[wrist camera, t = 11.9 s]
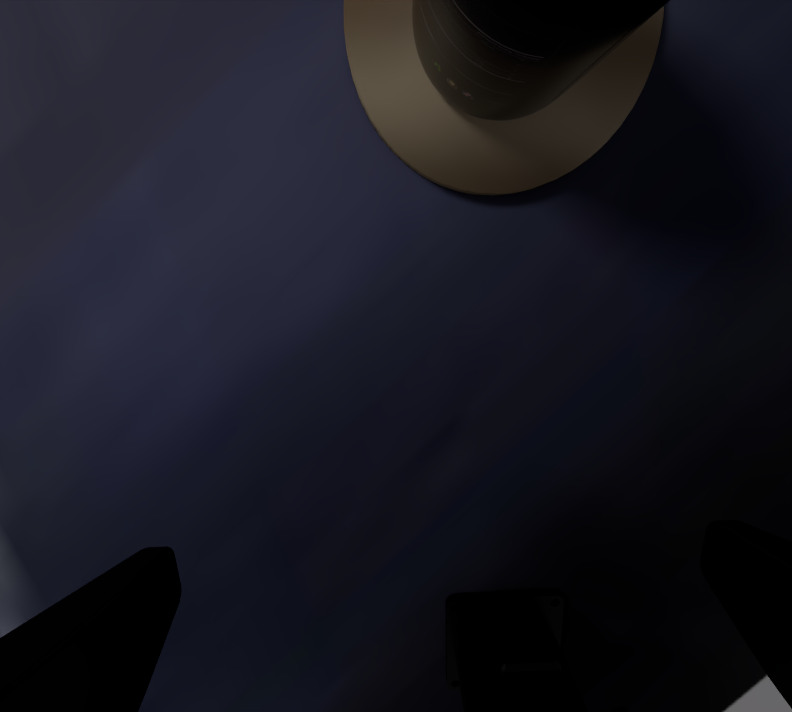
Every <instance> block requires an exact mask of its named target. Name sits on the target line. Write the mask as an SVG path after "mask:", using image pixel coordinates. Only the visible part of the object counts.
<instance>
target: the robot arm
mask: <svg viewBox="0 0 792 712" xmlns="http://www.w3.org/2000/svg"><path fill="white" fill-rule="evenodd" d="M700 566H701V570H702V573H703V575H704V577H705V579H706V581H707V582H708V584H709V585H710V587H711V588H712V590H713V592H714V593H715V595H716V596H717V598H718V599H719V601H720V603H721V604H722V606H723V607H724V609H725V610H726V612H727V613H728V615H729V617H730V618H731V620H732V621H733V623H734V624H735V626H736V628H737V629H738V631H739V632H740V634H741V635H742V637H743V638H744V640H745V642H746V643H747V645H748V646H749V648H750V649H751V651H752V653H753V654H754V656H755V657H756V659H757V660H758V662H759V663H760V665H761V666H762V668H763V669H764V671H765V672H766V674H767V675H768V677H769V678H770V680H771V681H772V682H773V684H774V685H775V686H776V688H777V689H778V691H779V692H780V693H781V695H782V696H783V698H784V699H785V700H786V701H787V703H788V704H789V705H790V707H791V708H792V542H790V541H788V540H785V539H783V538H780V537H778V536H775V535H773V534H770V533H768V532H766V531H763V530H761V529H758V528H756V527H753V526H751V525H748V524H746V523H744V522H741V521H737V520H719V521H712V522H710V523H709V524H708V526H707V527H706V531H705V537H704V542H703V548H702V553H701V558H700ZM180 598H181V583H180V578H179V573H178V568H177V563H176V559H175V554H174V551H173V550H172V549H171V548H170V547H148V548H144V549H142V550H140V551H138V552H137V553H135V554H134V555H132V556H130V557H129V558H127V559H126V560H124V561H122V562H121V563H119V564H118V565H116V566H114V567H113V568H111V569H110V570H108V571H106V572H105V573H103V574H102V575H100V576H98V577H97V578H95V579H94V580H92V581H90V582H89V583H87V584H86V585H84V586H82V587H81V588H79V589H78V590H76V591H75V592H73V593H71V594H70V595H68V596H67V597H65V598H63V599H62V600H60V601H59V602H57V603H55V604H54V605H52V606H51V607H49V608H47V609H46V610H44V611H43V612H41V613H39V614H38V615H36V616H35V617H33V618H31V619H30V620H28V621H27V622H25V623H23V624H22V625H20V626H19V627H17V628H16V629H14V630H12V631H11V632H9V633H8V634H6V635H4V636H3V637H1V638H0V712H138V710H139V708H140V706H141V703H142V701H143V698H144V696H145V693H146V691H147V688H148V685H149V683H150V680H151V677H152V675H153V672H154V669H155V667H156V664H157V661H158V659H159V656H160V653H161V651H162V648H163V645H164V642H165V640H166V637H167V634H168V632H169V629H170V626H171V624H172V621H173V618H174V616H175V613H176V610H177V608H178V605H179V602H180ZM554 599H555V600H554ZM552 600H553V601H552ZM453 604H457V605H453ZM563 610H564V599H563V597H562V595H561V593H560V592H559V591H557V590H534V591H513V592H492V593H471V594H453V595H450V596H449V597H448V598H447V599H446V681H447V686H448V687H449V688H450V689H452V690H461V695H462V701H463V707H464V712H588V711H587V709H586V706H585V704H584V702H583V699H582V697H581V695H580V692H579V690H578V688H577V686H576V683H575V681H574V679H573V676H572V674H571V672H570V669H569V667H568V665H567V662H566V660H565V658H564V655H563V653H562V651H561V648H560V645H561V633H562V622H563ZM612 711H613V712H628V711H627V709H626V708H625V706H622V707H619V708H615V709H612Z"/></svg>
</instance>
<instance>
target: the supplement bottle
mask: <svg viewBox="0 0 792 712" xmlns="http://www.w3.org/2000/svg"><path fill="white" fill-rule="evenodd" d="M669 1H670V0H413V4H412V24H413V34H414V40H415V45H416V49H417V53H418V56H419V59H420V62H421V64H422V67H423V69H424V71H425V73H426V75H427V76H428V78H429V80H430V81H431V83H432V84H433V86H434V87H435V88H436V90H437V91H438V92H439V93H440V94H441V95H442V96H443V97H444V98H445V99H446V100H447V101H448V102H449V103H450V104H452V105H453V106H455V107H456V108H457V109H459V110H461V111H463V112H465V113H467V114H469V115H472V116H474V117H478V118H481V119H486V120H495V121H504V120H513V119H518V118H522V117H525V116H528V115H530V114H533V113H535V112H537V111H539V110H541V109H543V108H544V107H546V106H548V105H549V104H551V103H552V102H554V101H555V100H556V99H557V98H559V97H560V96H561V95H562V94H564V93H565V92H566V91H567V90H569V89H570V88H571V87H572V86H573V85H574V84H576V83H577V82H578V81H579V80H580V79H581V78H582V77H583V76H585V75H586V74H587V73H588V72H589V71H590V70H591V69H593V68H594V67H595V66H596V65H597V64H598V63H599V62H601V61H602V60H603V59H604V58H605V57H606V56H607V55H609V54H610V53H611V52H612V51H613V50H614V49H615V48H616V47H618V46H619V45H620V44H621V43H622V42H623V41H624V40H626V39H627V38H628V37H629V36H630V35H631V34H632V33H634V32H635V31H636V30H637V29H638V28H639V27H640V26H641V25H643V24H644V23H645V22H646V21H647V20H648V19H649V18H651V17H652V16H653V15H654V14H655V13H656V12H657V11H659V10H660V9H661V8H662V7H663V6H664V5H665V4H667V3H668V2H669Z"/></svg>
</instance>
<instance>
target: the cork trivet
mask: <svg viewBox="0 0 792 712" xmlns="http://www.w3.org/2000/svg"><path fill="white" fill-rule="evenodd" d="M412 4H413V0H344V32H345V41H346V50H347V55H348V60H349V65H350V69H351V73H352V78H353V82H354V85H355V88H356V91H357V93H358V96H359V99H360V102H361V104H362V106H363V108H364V110H365V112H366V114H367V116H368V118H369V120H370V122H371V124H372V125H373V127H374V128H375V130H376V131H377V133H378V134H379V136H380V137H381V139H382V140H383V141H384V143H385V144H386V145H387V146H388V147H389V148H390V149H391V151H392V152H393V153H394V154H395V155H396V156H397V157H398V158H399V159H400V160H402V161H403V162H404V163H405V164H406V165H407V166H408V167H409V168H411V169H412V170H414V171H415V172H417V173H418V174H420V175H421V176H423V177H424V178H426V179H428V180H430V181H432V182H434V183H436V184H438V185H440V186H442V187H445V188H449V189H452V190H455V191H458V192H462V193H468V194H474V195H490V196H496V195H506V194H514V193H518V192H522V191H526V190H530V189H533V188H535V187H538V186H541V185H543V184H546V183H548V182H551V181H553V180H556V179H558V178H559V177H561V176H563V175H565V174H567V173H568V172H570V171H572V170H574V169H575V168H577V167H578V166H579V165H581V164H582V163H583V162H585V161H586V160H588V159H589V158H590V157H591V156H593V155H594V154H595V153H596V152H597V151H598V150H599V149H600V148H601V147H602V146H603V145H604V144H605V143H606V142H607V141H608V140H609V139H610V138H611V137H612V135H613V134H614V133H615V132H616V131H617V130H618V128H619V127H620V126H621V125H622V123H623V122H624V120H625V119H626V117H627V116H628V114H629V113H630V111H631V110H632V108H633V107H634V105H635V103H636V101H637V99H638V97H639V95H640V93H641V92H642V90H643V88H644V86H645V83H646V81H647V78H648V76H649V73H650V71H651V68H652V66H653V62H654V59H655V55H656V51H657V48H658V44H659V40H660V34H661V28H662V22H663V14H664V6H663V7H662V8H661V9H660V10H659V11H657V12H656V13H655V14H654V15H653V16H652V17H651V18H649V19H648V20H647V21H646V22H645V23H644V24H643V25H641V26H640V27H639V28H638V29H637V30H636V31H635V32H634V33H632V34H631V35H630V36H629V37H628V38H627V39H626V40H624V41H623V42H622V43H621V44H620V45H619V46H618V47H616V48H615V49H614V50H613V51H612V52H611V53H610V54H609V55H607V56H606V57H605V58H604V59H603V60H602V61H601V62H599V63H598V64H597V65H596V66H595V67H594V68H593V69H591V70H590V71H589V72H588V73H587V74H586V75H585V76H583V77H582V78H581V79H580V80H579V81H578V82H577V83H576V84H574V85H573V86H572V87H571V88H570V89H569V90H567V91H566V92H565V93H564V94H562V95H561V96H560V97H559V98H557V99H556V100H555V101H554V102H552V103H551V104H549V105H548V106H546V107H544V108H543V109H541V110H539V111H537V112H535V113H533V114H530V115H528V116H525V117H522V118H518V119H513V120H504V121H495V120H486V119H481V118H478V117H474V116H472V115H469V114H467V113H465V112H463V111H461V110H459V109H457V108H456V107H455V106H453V105H452V104H450V103H449V102H448V101H447V100H446V99H445V98H444V97H443V96H442V95H441V94H440V93H439V92H438V91H437V90H436V88H435V87H434V86H433V84H432V83H431V81H430V80H429V78H428V76H427V75H426V73H425V71H424V69H423V67H422V64H421V62H420V59H419V56H418V53H417V49H416V45H415V40H414V34H413V24H412Z"/></svg>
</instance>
